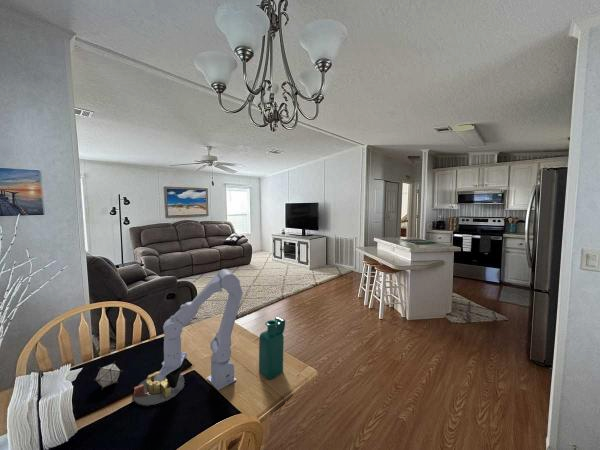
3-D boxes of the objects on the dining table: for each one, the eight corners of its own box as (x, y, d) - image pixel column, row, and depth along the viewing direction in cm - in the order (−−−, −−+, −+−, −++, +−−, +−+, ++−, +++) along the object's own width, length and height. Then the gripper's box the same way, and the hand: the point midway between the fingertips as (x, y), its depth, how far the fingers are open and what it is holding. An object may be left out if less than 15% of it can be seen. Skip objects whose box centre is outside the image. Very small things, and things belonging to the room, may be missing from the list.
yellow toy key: (180, 390, 95) (180, 380, 95) (155, 403, 89) (154, 392, 89) (167, 374, 104) (167, 365, 104) (143, 385, 98) (143, 375, 97)
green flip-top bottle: (269, 381, 104) (270, 328, 102) (256, 371, 109) (257, 321, 108) (287, 370, 111) (288, 321, 109) (274, 362, 116) (275, 314, 115)
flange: (192, 388, 98) (191, 376, 98) (141, 414, 86) (141, 400, 86) (174, 368, 110) (174, 357, 110) (127, 388, 98) (127, 376, 97)
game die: (111, 390, 102) (123, 362, 107) (117, 392, 96) (130, 362, 102) (85, 388, 97) (99, 358, 102) (90, 390, 91) (105, 359, 97)
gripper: (175, 340, 103) (175, 373, 104) (148, 362, 88) (149, 399, 89) (191, 342, 102) (191, 375, 103) (167, 364, 87) (168, 402, 88)
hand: (173, 386), depth 96 cm, fingers closed
